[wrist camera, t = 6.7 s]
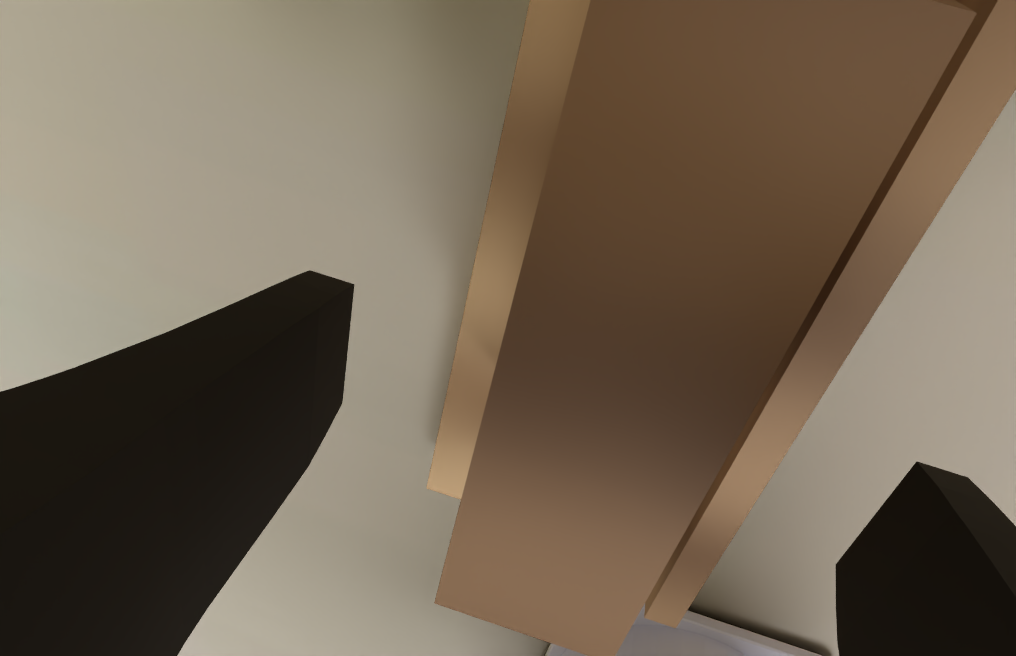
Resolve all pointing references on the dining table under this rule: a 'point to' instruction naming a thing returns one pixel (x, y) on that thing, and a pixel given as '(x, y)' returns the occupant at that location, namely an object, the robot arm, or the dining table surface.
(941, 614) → the robot arm
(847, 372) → the dining table surface
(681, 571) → the wooden stand base
